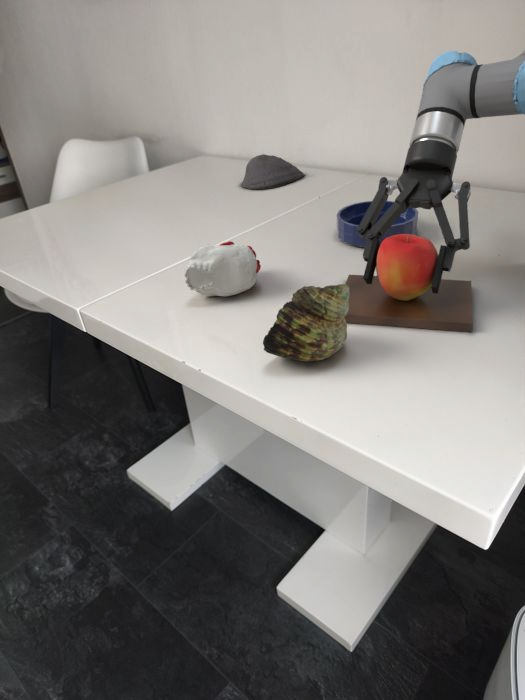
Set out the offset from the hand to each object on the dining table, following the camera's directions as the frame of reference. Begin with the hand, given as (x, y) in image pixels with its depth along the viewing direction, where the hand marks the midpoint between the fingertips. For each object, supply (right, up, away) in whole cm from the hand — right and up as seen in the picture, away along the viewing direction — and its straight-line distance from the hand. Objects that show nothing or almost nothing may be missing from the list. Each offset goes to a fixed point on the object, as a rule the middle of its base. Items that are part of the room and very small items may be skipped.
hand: (400, 285), depth 81 cm
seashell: (-14, -10, -4) cm, 18 cm away
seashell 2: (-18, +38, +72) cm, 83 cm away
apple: (+2, -1, +4) cm, 5 cm away
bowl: (+3, +14, +31) cm, 34 cm away
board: (+2, -2, +5) cm, 6 cm away
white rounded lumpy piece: (-26, +1, +15) cm, 30 cm away
